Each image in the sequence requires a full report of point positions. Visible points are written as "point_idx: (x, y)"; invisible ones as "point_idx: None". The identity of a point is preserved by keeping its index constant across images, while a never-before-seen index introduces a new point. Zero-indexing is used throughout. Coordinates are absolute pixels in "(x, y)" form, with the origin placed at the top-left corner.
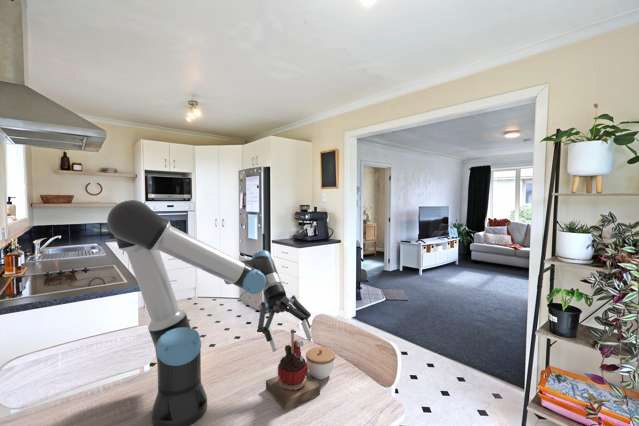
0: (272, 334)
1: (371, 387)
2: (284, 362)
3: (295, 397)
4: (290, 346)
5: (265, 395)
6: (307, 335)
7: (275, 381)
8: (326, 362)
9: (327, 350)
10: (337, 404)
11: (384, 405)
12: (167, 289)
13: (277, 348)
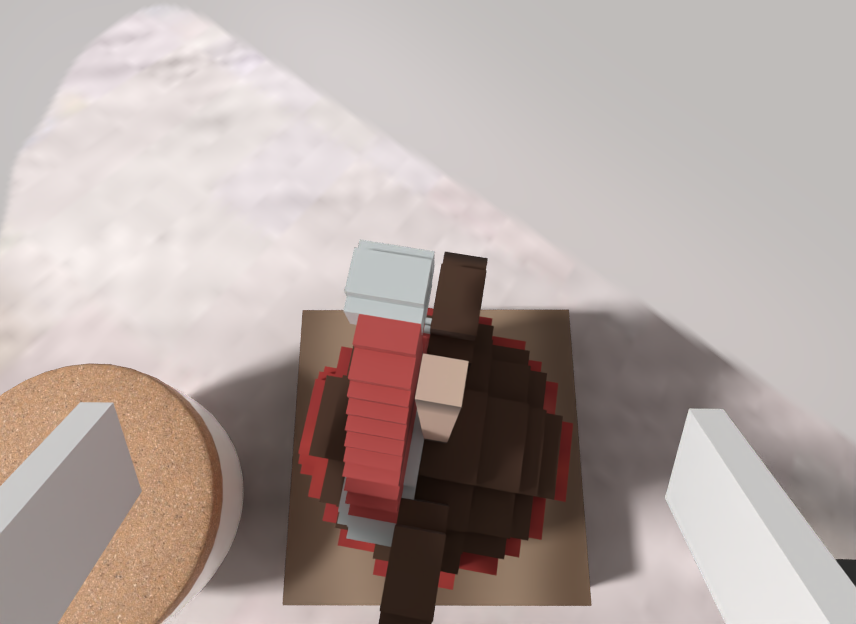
0: (834, 602)
1: (44, 202)
2: (536, 430)
3: (496, 310)
4: (393, 554)
5: (601, 527)
6: (99, 506)
7: (533, 542)
8: (132, 369)
9: None
10: (297, 207)
11: (126, 78)
12: None
13: (690, 417)
